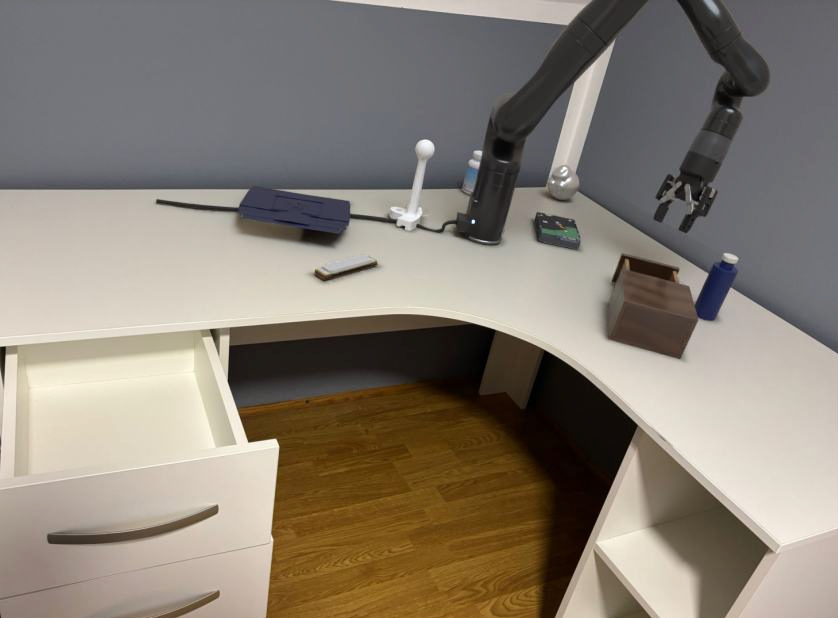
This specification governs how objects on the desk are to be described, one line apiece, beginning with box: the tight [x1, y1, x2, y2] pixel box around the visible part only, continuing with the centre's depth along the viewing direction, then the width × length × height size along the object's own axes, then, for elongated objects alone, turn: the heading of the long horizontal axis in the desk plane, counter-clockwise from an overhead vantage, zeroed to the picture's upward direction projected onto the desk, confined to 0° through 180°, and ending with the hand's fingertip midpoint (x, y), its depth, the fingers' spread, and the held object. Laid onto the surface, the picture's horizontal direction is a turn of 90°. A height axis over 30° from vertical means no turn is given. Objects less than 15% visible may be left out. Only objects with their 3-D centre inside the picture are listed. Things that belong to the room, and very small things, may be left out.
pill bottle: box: [461, 150, 482, 195], centre depth 193 cm, size 6×6×11 cm
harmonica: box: [314, 254, 378, 281], centre depth 140 cm, size 15×3×2 cm, turn 135°
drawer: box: [611, 252, 681, 287], centre depth 150 cm, size 18×12×7 cm
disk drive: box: [533, 211, 582, 250], centre depth 177 cm, size 10×3×15 cm
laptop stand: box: [237, 185, 351, 235], centre depth 159 cm, size 24×30×4 cm
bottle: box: [694, 252, 739, 322], centre depth 148 cm, size 5×5×14 cm
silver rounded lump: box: [546, 164, 580, 201], centre depth 201 cm, size 9×10×10 cm
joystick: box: [388, 139, 436, 232], centre depth 164 cm, size 11×8×20 cm
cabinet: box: [607, 269, 699, 360], centre depth 138 cm, size 16×14×9 cm
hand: (669, 226), depth 155 cm, fingers open, 8 cm apart
